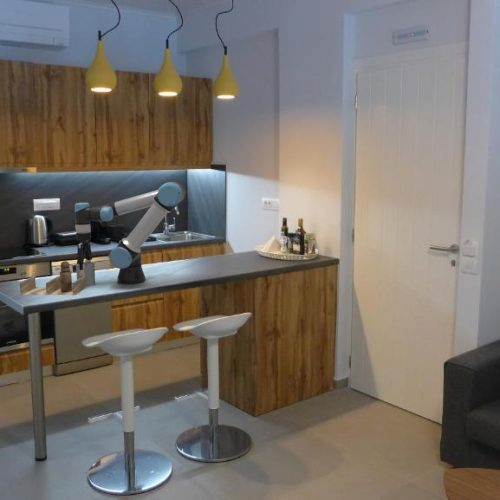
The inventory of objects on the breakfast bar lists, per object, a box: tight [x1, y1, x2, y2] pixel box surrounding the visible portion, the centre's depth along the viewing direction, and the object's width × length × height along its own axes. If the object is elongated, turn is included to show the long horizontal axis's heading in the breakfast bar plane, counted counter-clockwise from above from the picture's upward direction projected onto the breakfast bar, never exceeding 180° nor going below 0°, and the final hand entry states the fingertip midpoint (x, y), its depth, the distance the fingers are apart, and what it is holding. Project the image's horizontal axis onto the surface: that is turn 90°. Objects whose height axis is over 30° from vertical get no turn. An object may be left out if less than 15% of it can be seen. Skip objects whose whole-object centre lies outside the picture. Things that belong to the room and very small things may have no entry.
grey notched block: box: [75, 261, 96, 288], centre depth 329 cm, size 10×10×12 cm
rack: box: [19, 275, 87, 296], centre depth 316 cm, size 28×16×7 cm, turn 86°
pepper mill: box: [59, 260, 73, 292], centre depth 315 cm, size 6×6×16 cm
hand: (85, 273), depth 329 cm, fingers open, 10 cm apart
